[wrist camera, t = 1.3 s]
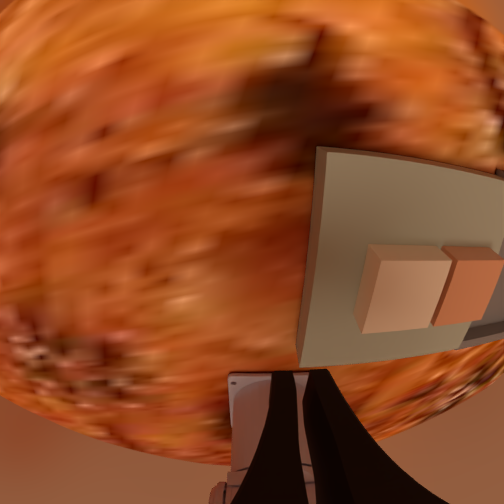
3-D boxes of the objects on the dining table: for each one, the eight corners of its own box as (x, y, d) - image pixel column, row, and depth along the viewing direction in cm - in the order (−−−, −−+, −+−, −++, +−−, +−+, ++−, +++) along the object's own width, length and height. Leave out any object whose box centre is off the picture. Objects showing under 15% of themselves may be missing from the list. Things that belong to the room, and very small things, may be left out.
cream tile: (415, 309, 19) (427, 327, 17) (352, 313, 18) (361, 333, 17) (436, 245, 16) (452, 260, 15) (368, 244, 16) (381, 260, 14)
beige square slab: (446, 331, 23) (458, 348, 21) (295, 344, 23) (299, 367, 21) (495, 175, 16) (516, 184, 14) (316, 146, 16) (327, 152, 14)
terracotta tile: (468, 304, 19) (481, 319, 17) (421, 309, 19) (433, 326, 17) (489, 247, 16) (505, 260, 15) (441, 245, 16) (458, 260, 15)
